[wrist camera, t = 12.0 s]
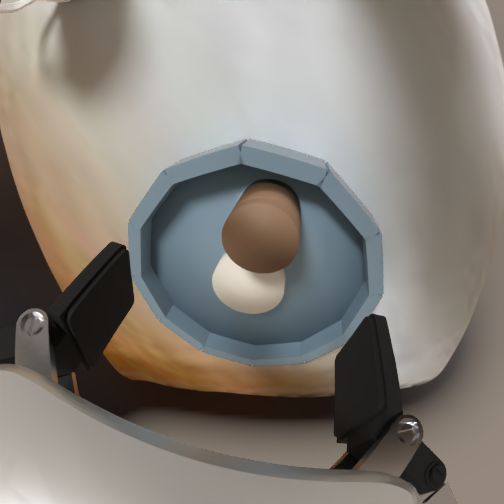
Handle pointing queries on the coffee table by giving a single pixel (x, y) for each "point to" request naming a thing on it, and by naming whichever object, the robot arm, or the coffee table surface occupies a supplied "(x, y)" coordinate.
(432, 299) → the coffee table surface
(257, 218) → the walnut bead
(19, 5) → the mug
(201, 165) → the ring tray
